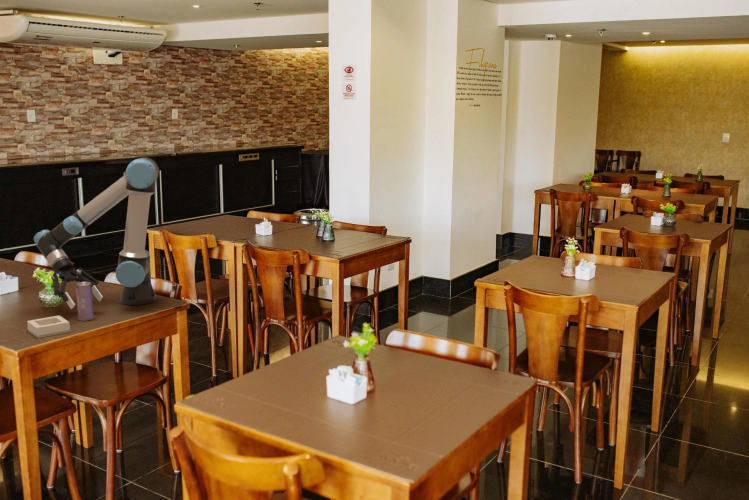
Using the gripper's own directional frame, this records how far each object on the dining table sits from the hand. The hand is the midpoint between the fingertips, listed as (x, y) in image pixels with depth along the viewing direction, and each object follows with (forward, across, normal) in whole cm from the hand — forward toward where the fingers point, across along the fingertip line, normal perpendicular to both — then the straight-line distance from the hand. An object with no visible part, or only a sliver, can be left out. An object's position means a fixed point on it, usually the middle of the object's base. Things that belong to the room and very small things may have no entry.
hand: (87, 303), depth 298 cm
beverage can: (+4, 0, -6) cm, 7 cm away
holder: (+5, +18, -5) cm, 20 cm away
